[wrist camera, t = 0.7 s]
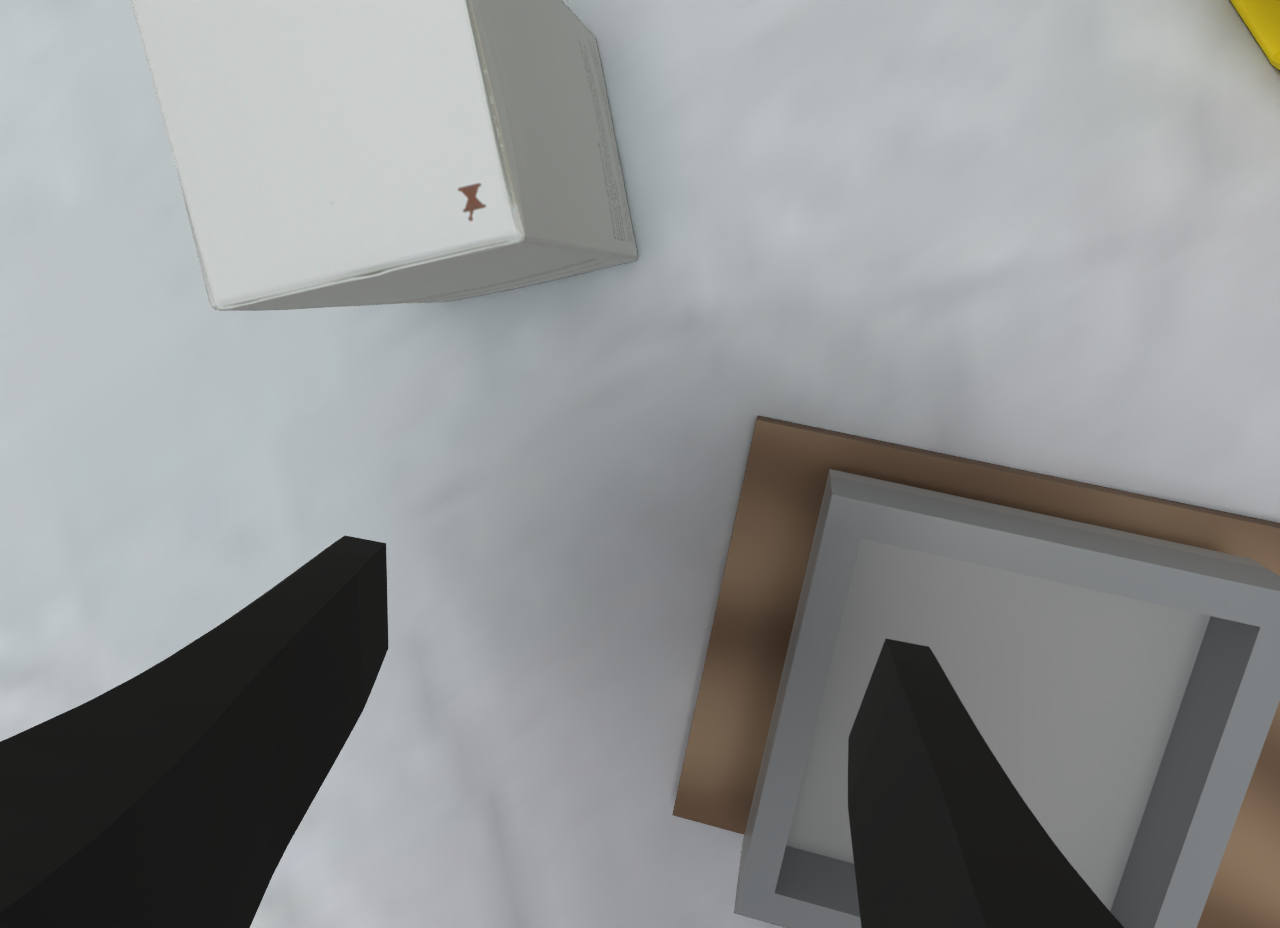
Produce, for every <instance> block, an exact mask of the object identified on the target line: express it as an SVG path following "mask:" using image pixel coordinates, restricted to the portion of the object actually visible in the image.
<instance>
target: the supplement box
mask: <svg viewBox="0 0 1280 928" xmlns="http://www.w3.org/2000/svg"><path fill="white" fill-rule="evenodd" d="M131 1H132V5H133V9H134V13H135V17H136V20H137V24H138V28H139V32H140V35H141V39H142V43H143V47H144V50H145V54H146V57H147V61H148V65H149V68H150V72H151V76H152V79H153V83H154V87H155V91H156V95H157V98H158V102H159V106H160V110H161V113H162V117H163V121H164V124H165V128H166V132H167V135H168V139H169V143H170V146H171V150H172V153H173V157H174V160H175V164H176V167H177V171H178V175H179V180H180V184H181V188H182V192H183V196H184V200H185V204H186V209H187V213H188V217H189V221H190V225H191V229H192V234H193V238H194V242H195V246H196V250H197V254H198V258H199V262H200V265H201V269H202V273H203V277H204V281H205V286H206V290H207V295H208V299H209V302H210V304H211V306H212V308H214V309H215V310H221V311H227V310H253V311H256V310H288V309H306V308H322V307H341V306H362V305H379V304H396V303H432V302H448V301H454V300H459V299H464V298H470V297H475V296H480V295H485V294H490V293H495V292H500V291H506V290H511V289H516V288H521V287H525V286H530V285H535V284H539V283H543V282H548V281H552V280H556V279H561V278H565V277H569V276H573V275H578V274H582V273H586V272H590V271H595V270H599V269H603V268H607V267H612V266H616V265H620V264H624V263H629V262H634V261H636V260H637V259H638V254H637V249H636V244H635V239H634V234H633V228H632V222H631V217H630V213H629V207H628V203H627V197H626V193H625V188H624V181H623V175H622V171H621V166H620V161H619V156H618V151H617V146H616V140H615V135H614V130H613V124H612V119H611V114H610V108H609V103H608V98H607V92H606V87H605V82H604V77H603V72H602V66H601V61H600V56H599V52H598V47H597V42H596V38H595V36H594V35H593V34H592V32H591V31H590V30H589V29H588V28H587V27H586V26H585V25H584V24H583V23H582V22H581V21H580V20H579V19H578V17H577V16H576V15H575V14H574V13H573V12H572V11H571V10H570V9H569V8H568V7H567V6H566V5H565V3H564V2H563V1H562V0H131Z"/></svg>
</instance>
